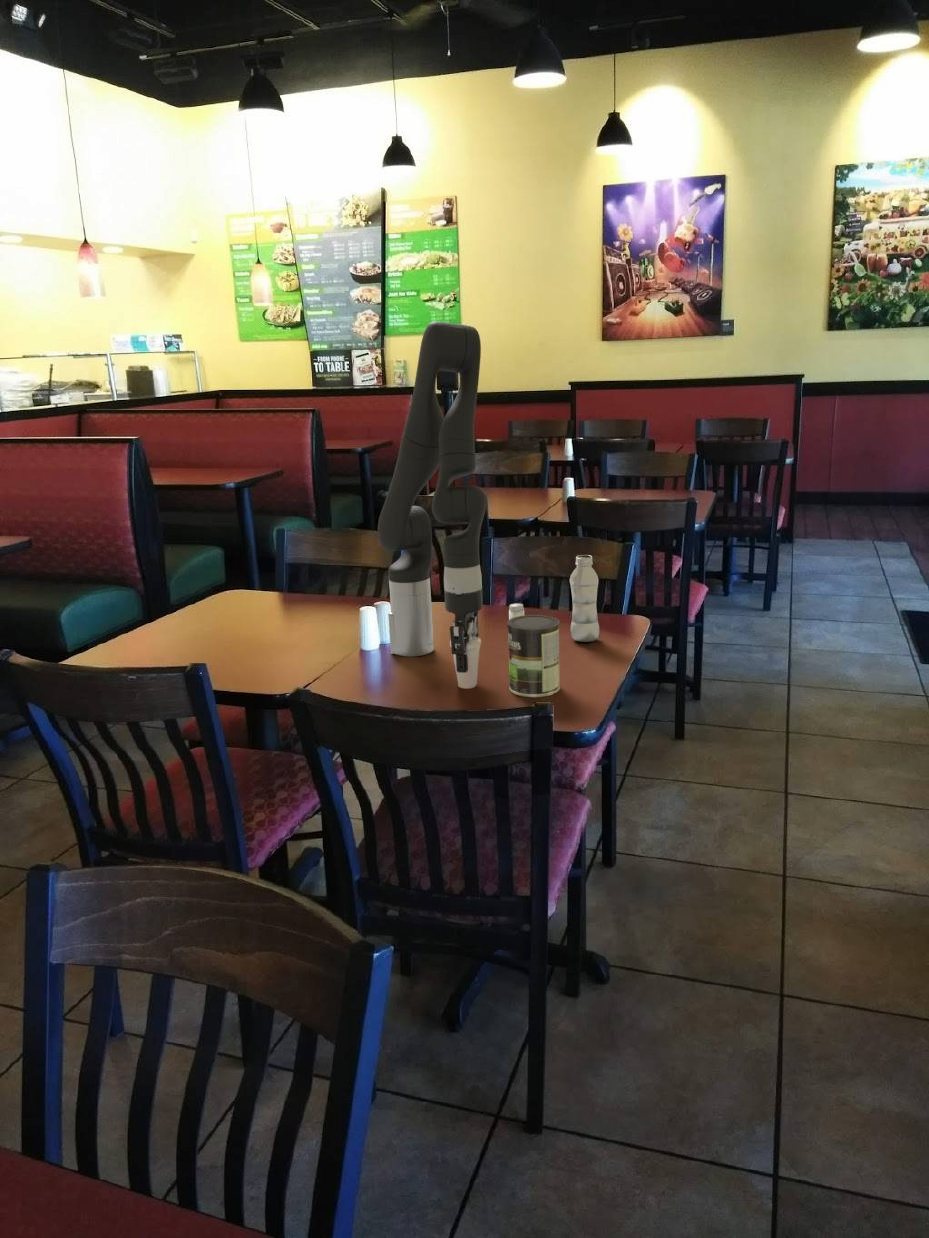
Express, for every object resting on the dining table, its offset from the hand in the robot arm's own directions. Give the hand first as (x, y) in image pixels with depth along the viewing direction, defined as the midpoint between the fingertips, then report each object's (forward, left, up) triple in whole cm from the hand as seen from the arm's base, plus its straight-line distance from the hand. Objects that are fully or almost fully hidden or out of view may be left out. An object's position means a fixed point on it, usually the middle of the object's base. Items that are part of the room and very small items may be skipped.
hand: (466, 666), depth 190 cm
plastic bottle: (+20, +33, -4) cm, 39 cm away
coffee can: (+14, 0, -4) cm, 15 cm away
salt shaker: (+4, +33, -4) cm, 34 cm away
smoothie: (0, 0, -4) cm, 4 cm away
